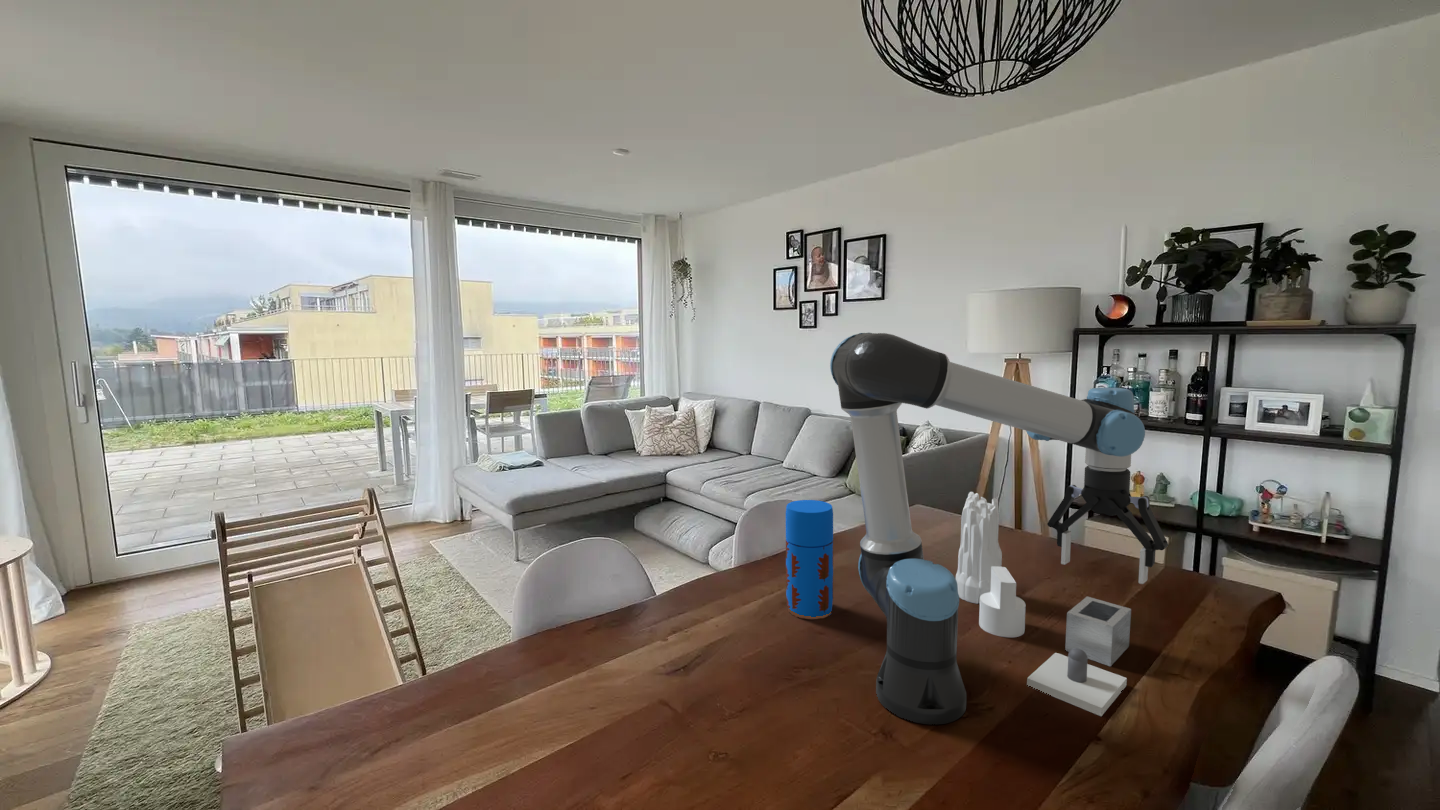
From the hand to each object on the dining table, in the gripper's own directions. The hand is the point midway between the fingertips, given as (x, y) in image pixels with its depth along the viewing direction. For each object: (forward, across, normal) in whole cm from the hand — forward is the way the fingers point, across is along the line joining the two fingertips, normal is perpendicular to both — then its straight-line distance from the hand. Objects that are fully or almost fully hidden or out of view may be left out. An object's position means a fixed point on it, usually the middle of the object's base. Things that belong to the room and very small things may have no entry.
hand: (1102, 571), depth 120 cm
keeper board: (+16, -2, +17) cm, 24 cm away
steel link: (+16, 0, 0) cm, 16 cm away
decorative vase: (+16, +28, -7) cm, 33 cm away
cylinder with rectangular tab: (+16, +17, +5) cm, 24 cm away
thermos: (+16, +51, +29) cm, 61 cm away
